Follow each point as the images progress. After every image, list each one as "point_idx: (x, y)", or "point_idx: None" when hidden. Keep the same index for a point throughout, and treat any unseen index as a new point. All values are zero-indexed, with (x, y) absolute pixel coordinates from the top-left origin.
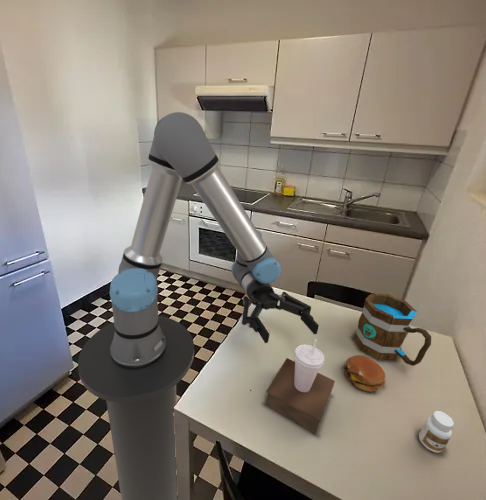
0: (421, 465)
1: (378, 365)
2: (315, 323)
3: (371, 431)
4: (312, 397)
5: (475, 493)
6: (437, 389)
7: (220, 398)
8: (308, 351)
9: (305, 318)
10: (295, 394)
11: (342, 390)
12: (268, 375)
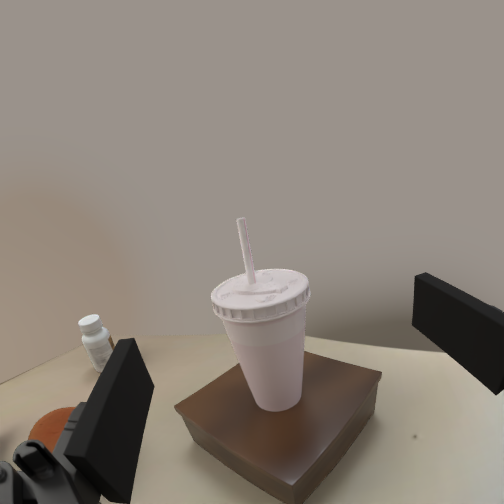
0: (148, 351)
1: (36, 423)
2: (121, 348)
3: (170, 382)
4: None
5: (126, 335)
6: (11, 402)
7: (475, 396)
8: (258, 286)
9: (118, 432)
10: (306, 374)
11: (151, 446)
12: (359, 493)
